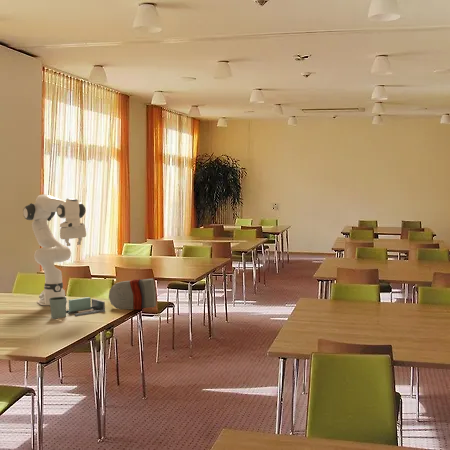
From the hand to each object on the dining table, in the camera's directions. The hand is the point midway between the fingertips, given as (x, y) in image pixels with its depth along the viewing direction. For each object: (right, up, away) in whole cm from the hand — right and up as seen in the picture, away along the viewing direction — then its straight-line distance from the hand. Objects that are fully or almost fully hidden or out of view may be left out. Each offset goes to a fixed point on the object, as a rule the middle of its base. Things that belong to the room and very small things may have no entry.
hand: (73, 245), depth 420 cm
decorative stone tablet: (+37, -41, +5) cm, 56 cm away
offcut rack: (+8, -42, -6) cm, 44 cm away
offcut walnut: (+10, -42, -10) cm, 44 cm away
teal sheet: (+5, -42, -4) cm, 43 cm away
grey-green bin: (-5, -44, -18) cm, 48 cm away
